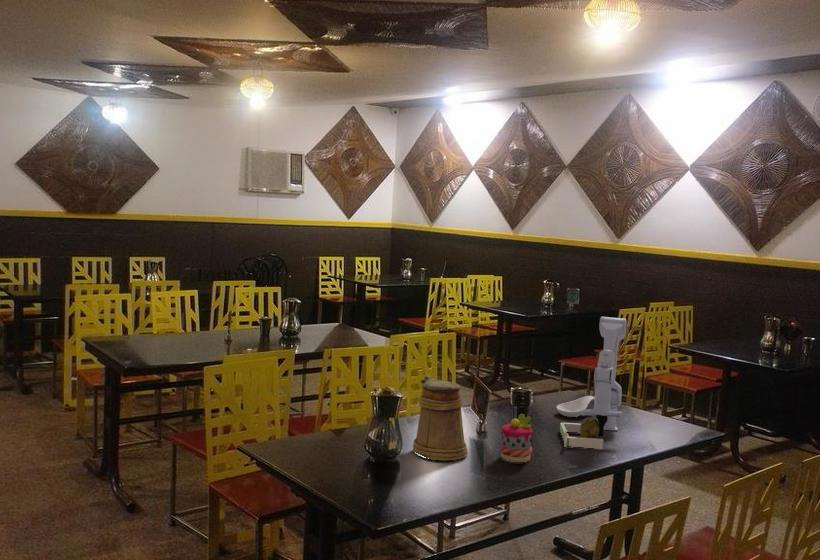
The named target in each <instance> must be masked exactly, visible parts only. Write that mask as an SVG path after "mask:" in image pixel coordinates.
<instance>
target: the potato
mask: <svg viewBox="0 0 820 560" xmlns="http://www.w3.org/2000/svg"><path fill="white" fill-rule="evenodd" d="M580 424H581V426H580V433H579V434H580V435H579V436H580V438H595V439H598V438H599V424H598V421H597V418H593V417H586V418H584V419H583V420H582V421H581V423H580Z"/></svg>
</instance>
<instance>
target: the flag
mask: <svg viewBox="0 0 820 560" xmlns="http://www.w3.org/2000/svg"><path fill="white" fill-rule="evenodd" d="M566 444H567V430H565V440H564V442H563V448H564V447H566ZM566 448H567V447H566Z"/></svg>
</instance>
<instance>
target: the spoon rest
mask: <svg viewBox="0 0 820 560" xmlns="http://www.w3.org/2000/svg"><path fill="white" fill-rule="evenodd" d="M594 399H595V396H593V395H585V396H583V397H580V398H577V399H574V400H571V401H568V402H563V403H560V404H557V405H556V410H557V412H558V413H559V414H560V415H562V416H564V417H566V416H567V418H571V417H576V418H579V417H580V416H582V415H581V409H588V406H589V405H590V403H591V401H594ZM578 416H579V417H578Z"/></svg>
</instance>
